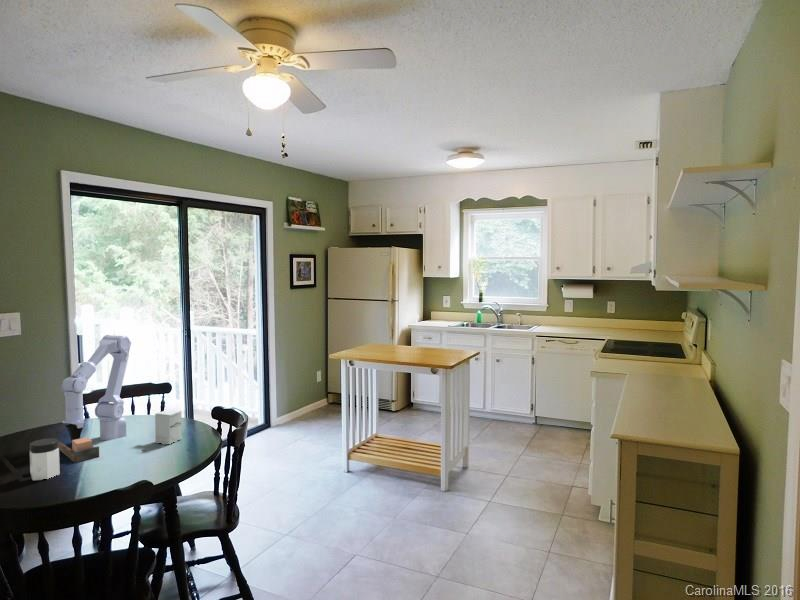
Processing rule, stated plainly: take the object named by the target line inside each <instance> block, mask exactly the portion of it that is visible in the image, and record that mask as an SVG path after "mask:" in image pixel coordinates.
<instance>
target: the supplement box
mask: <svg viewBox="0 0 800 600" xmlns="http://www.w3.org/2000/svg"><path fill="white" fill-rule="evenodd" d="M154 414H155V415H154V417H155V420H154V421H155V423H154V424H155V429H154V430H155V444H158V443H163V444H162V445H165V444H170V445H172V444H174V443H173V442H175V441H177V440H179V439H182V435H183V434H182V410H177V409H166V410H162V411H160V412H157V413H154ZM182 440H183V439H182ZM177 442H178V441H177ZM171 443H172V444H171ZM175 443H176V442H175Z"/></svg>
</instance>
